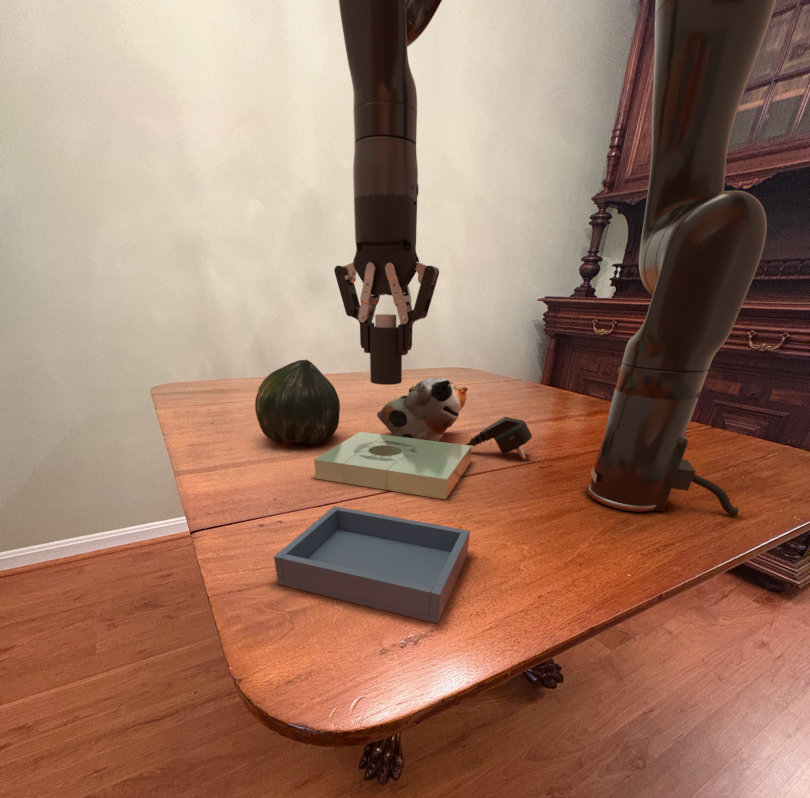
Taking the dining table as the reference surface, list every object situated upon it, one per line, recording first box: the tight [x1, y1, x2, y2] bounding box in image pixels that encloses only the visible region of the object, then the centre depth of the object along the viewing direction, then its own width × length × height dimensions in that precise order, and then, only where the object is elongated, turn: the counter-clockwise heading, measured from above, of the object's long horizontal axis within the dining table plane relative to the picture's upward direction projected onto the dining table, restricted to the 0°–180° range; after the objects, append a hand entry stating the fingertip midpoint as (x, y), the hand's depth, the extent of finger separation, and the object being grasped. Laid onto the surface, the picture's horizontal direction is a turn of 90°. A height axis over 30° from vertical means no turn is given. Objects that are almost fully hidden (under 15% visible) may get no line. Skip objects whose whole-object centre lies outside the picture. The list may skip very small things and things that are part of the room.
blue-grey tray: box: [273, 505, 471, 624], centre depth 42 cm, size 16×12×3 cm
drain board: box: [313, 431, 473, 500], centre depth 66 cm, size 20×16×3 cm
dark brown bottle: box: [369, 313, 403, 386], centre depth 58 cm, size 4×4×8 cm
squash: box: [254, 359, 341, 446], centre depth 76 cm, size 14×15×15 cm
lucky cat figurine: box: [376, 377, 468, 442], centre depth 80 cm, size 15×12×14 cm
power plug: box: [464, 416, 533, 461], centre depth 74 cm, size 6×8×12 cm
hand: (386, 352), depth 59 cm, fingers closed on dark brown bottle, 4 cm apart
